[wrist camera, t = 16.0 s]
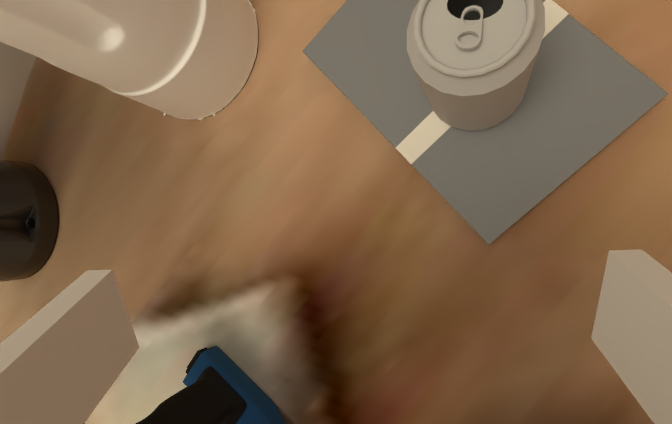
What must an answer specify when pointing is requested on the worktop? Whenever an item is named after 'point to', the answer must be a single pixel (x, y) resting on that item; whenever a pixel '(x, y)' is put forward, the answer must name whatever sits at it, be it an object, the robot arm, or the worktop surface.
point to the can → (475, 56)
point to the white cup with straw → (143, 47)
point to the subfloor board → (497, 141)
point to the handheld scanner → (216, 396)
